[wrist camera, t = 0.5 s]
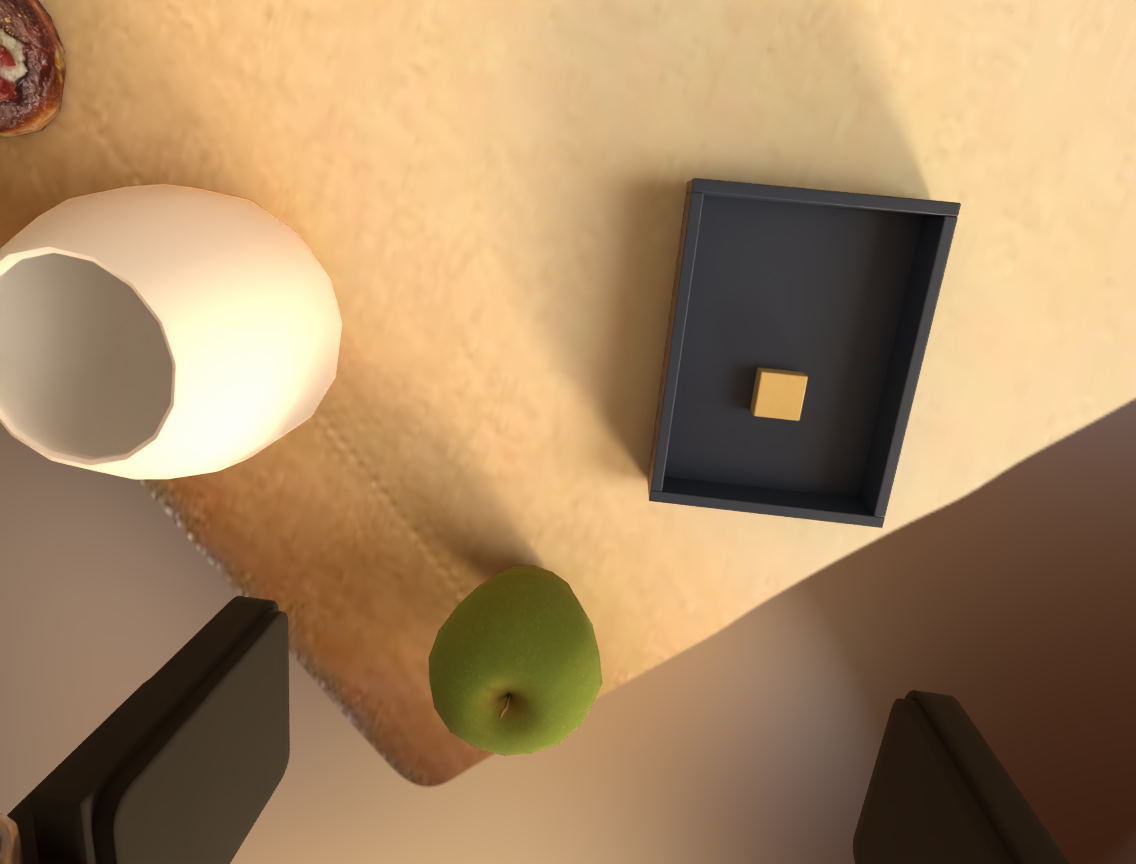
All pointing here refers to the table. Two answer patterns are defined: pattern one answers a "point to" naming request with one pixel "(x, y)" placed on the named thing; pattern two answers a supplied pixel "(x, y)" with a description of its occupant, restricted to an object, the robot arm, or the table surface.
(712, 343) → the tray
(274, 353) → the white vase
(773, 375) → the tan square block
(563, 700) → the apple
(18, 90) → the pastry
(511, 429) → the table surface
